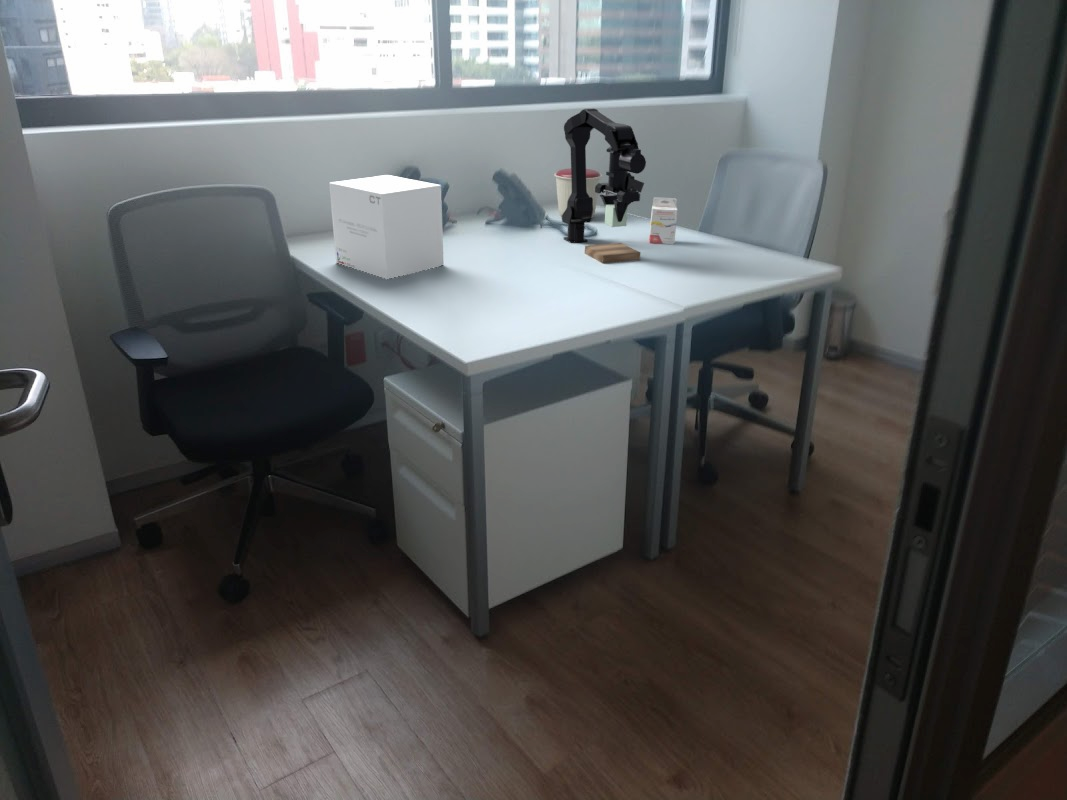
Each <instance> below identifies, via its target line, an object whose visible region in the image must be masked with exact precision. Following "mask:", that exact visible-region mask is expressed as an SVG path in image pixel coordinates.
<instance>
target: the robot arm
mask: <svg viewBox="0 0 1067 800" xmlns="http://www.w3.org/2000/svg"><path fill="white" fill-rule="evenodd" d="M594 129H595V130H596V131H598V132H600V133H601V134H602V135H603V136H604V140H605V142H606V143H607V144H608V145H609V146H608V147H607V149H606V153H609V165H608V171H606V173H605V175H606V176H608V181H607V182H600V183H598V184H597V185H596V186H595V192H596V193H598V194H600V195H599V197H600V198H601V201H602V202H603V205H604V208H605V207H606V205H610V204H614V206H615V211H616V216H617V220H618V222H621V221H622V219H623V216H624V214H625V211H626V209H627V210H628V207H629V206H630V204H632V203H634V202H640V201H641V193H642V190H643V189H644V185H645V182H643V181H641V180H637V179H635V175H634V176H633V175H632V174H636V175H637V174H641V173H642V172H643V171H644V170H645V168H646V166H647V164H646V163H647V160H646V158H645V156H644V155H643V154H642V150H641V149H640V148H639V144H638V141H637V139H636V135H635V133H634V130H633V128H632V126H631V125H627V124H624V123H618V122H615V121H613V120H612V119H610V118H609V117H608V116H605V115H604V114H603V113H601V112H599V110H598V109H597V108H583V109H582V110H580V112H579V113H577V114H574V115H573V116H571V117H569V118H568V119H567V120H566V122H564V124H563V131H564V136H565V137H564V138H565V140H566V142H567V144H568V146H569V148H570V167H571V179H572V193H571V195H570V197H569V199H568V201H567V208H566V210H565V211H564V213H563V215H562V217H561V221H562V223H564V224H566V225H567V235H566V236H564V237H563V239H564V240H565V241H567V242H569V243H584V242H585V243H586V242H588V241H589V240H588V239H587V238H585V224H586V223H588V224H589V223H591V220H592V218H593V217H592V213H593V199H592V197H589V195H588V193H587V187H586V169H587V159H586V158H587V151H586V147H587V145H588V142H589V141H590V139H591V132H592V131H593V130H594ZM631 173H632V174H631ZM591 217H592V218H591Z"/></svg>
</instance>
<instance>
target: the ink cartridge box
mask: <svg viewBox="0 0 1067 800" xmlns="http://www.w3.org/2000/svg"><path fill="white" fill-rule="evenodd" d="M664 201H666V202H664ZM677 202H678V199H677V198H676V197H674V198H673V197H653V198H652V206H651V214H650V224H649V225H650V226H649V227H650V228H649V237H648V238H649V239H648V240H649V244H660V243H662V244H663V245H665V244H666V245H675V241H676V232H677V231H676V229H677V220H678V207H677V205H678V203H677Z"/></svg>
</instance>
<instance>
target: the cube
mask: <svg viewBox="0 0 1067 800" xmlns="http://www.w3.org/2000/svg"><path fill="white" fill-rule="evenodd" d="M328 185H329V186H328V187H329V197H330V199H329V200H330V208H331V210H330V211H331V219H332V220H331V221H332V232H333V233H332V234H333V243H334V255H335V264H337V263H339V264H338V265H340V264H342V265H341V266H343V265H345V266H344V267H346V266H348V267H347V268H349V267H352V268H354V269H353V270H355V269H357V270H356V271H359V270H361V271H360V272H362V271H364V272H363V273H365V272H367V273H366V274H368V273H370V274H369V275H371V274H373V275H372V276H374V275H376V276H375V277H377V276H379V277H378V278H380V277H382V278H381V279H384V278H385V279H384V280H387V279H388V280H390V279H389V278H392V279H395V278H394V277H396V278H399V277H398V276H400V277H404V276H408V275H412V274H411V273H413V274H416V273H415V272H417V273H420V272H419V271H421V272H423V271H422V270H425V271H427V270H426V269H429V268H433V267H437V268H439V267H438V266H441V265H444V242H443V241H444V235H443V208H442V207H443V203H442V184H437V183H433V182H432V183H431V182H427V181H423V180H422V181H421V180H417V179H410V178H405V177H401V176H396V175H395V176H394V175H390V174H383V175H376V176H371V177H363V178H355V179H354V178H353V179H348V180H340V181H330V182H329V183H328ZM444 266H445V265H444ZM352 268H351V269H352ZM433 269H434V268H433ZM429 270H430V269H429ZM407 274H408V275H407ZM403 275H404V276H403Z"/></svg>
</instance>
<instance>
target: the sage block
mask: <svg viewBox="0 0 1067 800" xmlns="http://www.w3.org/2000/svg"><path fill="white" fill-rule="evenodd" d="M604 208H605V210H604V211H605V213H604V225H606V226H609V227H611V228H618V227H627V223H628V222H627V220H628V208H627V209H626V211H625V214H624V216H623V219H622V221H621V222H618V220H617V216H616V211H615V206H614V204H610V205H606V207H605V206H604Z"/></svg>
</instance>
